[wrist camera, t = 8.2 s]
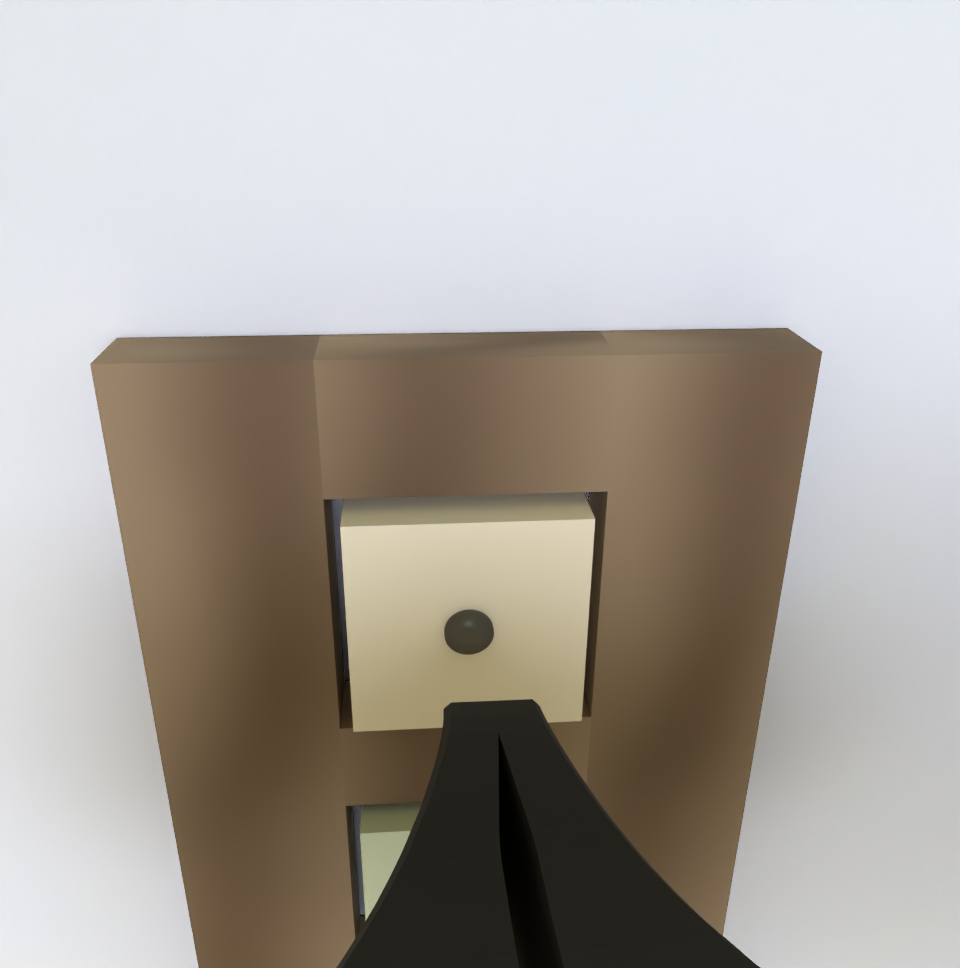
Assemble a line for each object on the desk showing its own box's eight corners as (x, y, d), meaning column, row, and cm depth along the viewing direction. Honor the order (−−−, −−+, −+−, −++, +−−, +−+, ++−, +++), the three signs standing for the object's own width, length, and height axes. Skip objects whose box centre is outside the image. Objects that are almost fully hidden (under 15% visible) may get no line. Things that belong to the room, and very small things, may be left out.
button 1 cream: (575, 472, 18) (596, 522, 16) (564, 659, 19) (582, 725, 18) (345, 478, 17) (339, 530, 15) (357, 668, 19) (353, 736, 17)
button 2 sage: (559, 754, 21) (575, 825, 19) (551, 894, 22) (565, 972, 20) (363, 764, 20) (359, 838, 18) (372, 905, 22) (369, 985, 20)
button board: (787, 328, 17) (821, 351, 15) (665, 1125, 27) (680, 1182, 25) (116, 338, 16) (90, 363, 14) (252, 1159, 26) (244, 1220, 24)
